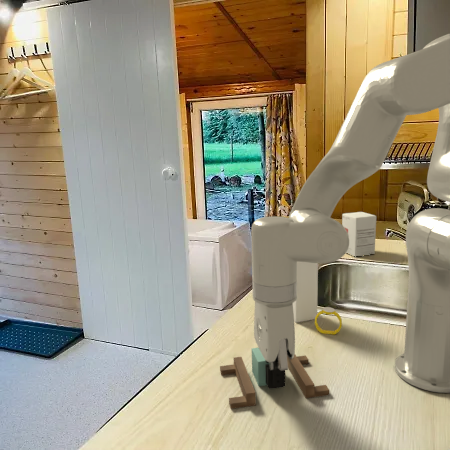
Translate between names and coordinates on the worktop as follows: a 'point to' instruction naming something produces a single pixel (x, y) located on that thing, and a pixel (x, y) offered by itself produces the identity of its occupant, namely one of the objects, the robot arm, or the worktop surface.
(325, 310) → the watch
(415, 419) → the worktop surface
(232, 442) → the worktop surface
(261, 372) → the block
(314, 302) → the milk
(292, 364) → the wooden brackets
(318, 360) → the worktop surface
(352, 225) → the supplement box
